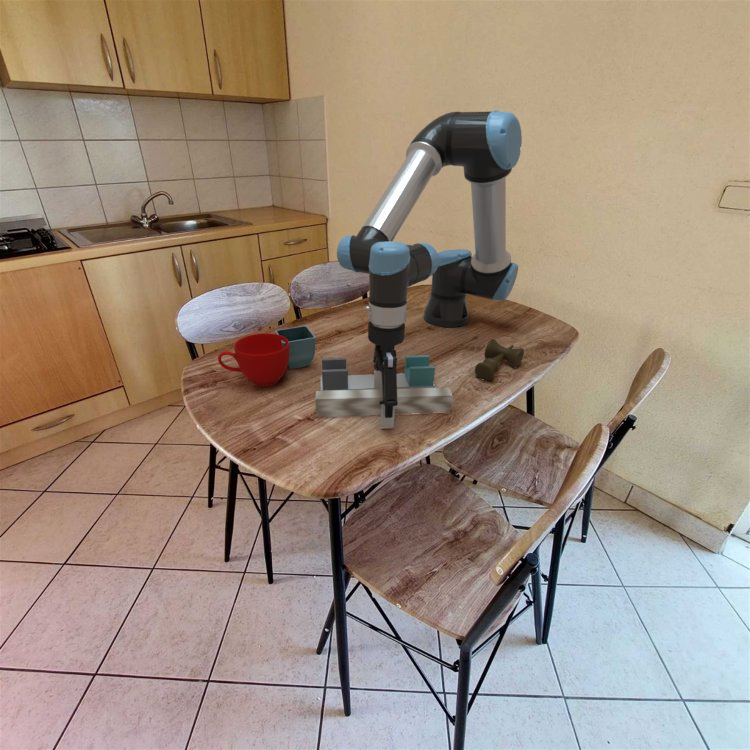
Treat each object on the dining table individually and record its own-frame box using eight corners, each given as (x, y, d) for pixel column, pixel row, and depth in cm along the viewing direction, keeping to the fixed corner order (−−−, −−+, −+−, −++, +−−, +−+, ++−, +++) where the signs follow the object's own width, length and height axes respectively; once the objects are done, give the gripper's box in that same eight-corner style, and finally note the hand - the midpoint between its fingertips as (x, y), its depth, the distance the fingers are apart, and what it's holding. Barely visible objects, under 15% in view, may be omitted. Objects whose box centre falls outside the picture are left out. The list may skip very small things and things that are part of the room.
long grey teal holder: (428, 375, 113) (430, 355, 111) (434, 389, 107) (437, 367, 104) (320, 379, 110) (319, 358, 107) (320, 393, 104) (319, 371, 101)
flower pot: (285, 374, 112) (282, 342, 108) (277, 360, 119) (274, 329, 115) (318, 368, 116) (316, 337, 111) (308, 354, 123) (306, 325, 118)
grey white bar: (446, 405, 101) (448, 387, 99) (450, 414, 98) (452, 395, 96) (316, 409, 99) (316, 391, 96) (316, 418, 96) (315, 399, 93)
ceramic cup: (221, 373, 112) (215, 337, 107) (287, 365, 117) (284, 330, 112) (223, 398, 101) (216, 360, 96) (295, 388, 106) (293, 351, 101)
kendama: (464, 376, 115) (495, 349, 129) (498, 389, 110) (527, 359, 124) (467, 356, 112) (499, 331, 126) (502, 368, 107) (531, 341, 121)
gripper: (362, 302, 99) (361, 383, 109) (375, 348, 77) (372, 444, 87) (395, 301, 99) (391, 382, 110) (417, 347, 78) (409, 442, 88)
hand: (383, 410), depth 98 cm, fingers open, 13 cm apart
